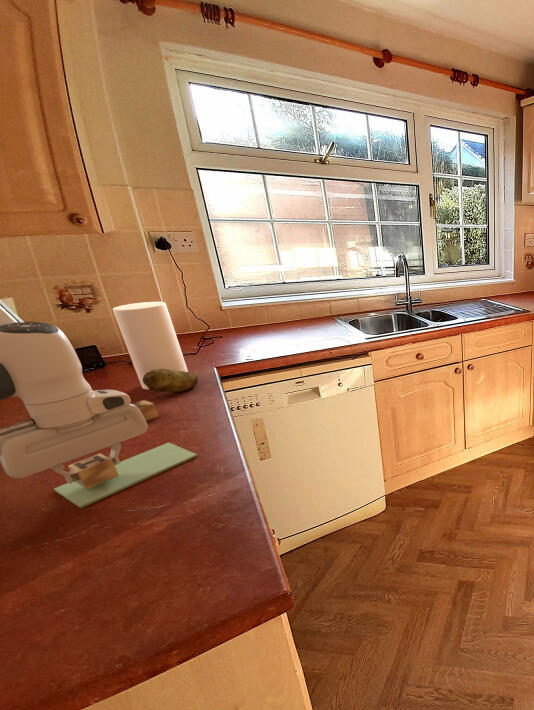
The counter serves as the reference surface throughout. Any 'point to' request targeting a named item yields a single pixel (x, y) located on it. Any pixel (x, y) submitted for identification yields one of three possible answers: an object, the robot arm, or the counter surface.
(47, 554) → the counter surface
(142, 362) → the cylinder
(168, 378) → the potato
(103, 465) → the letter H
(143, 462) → the mat
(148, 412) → the tan boxy piece
